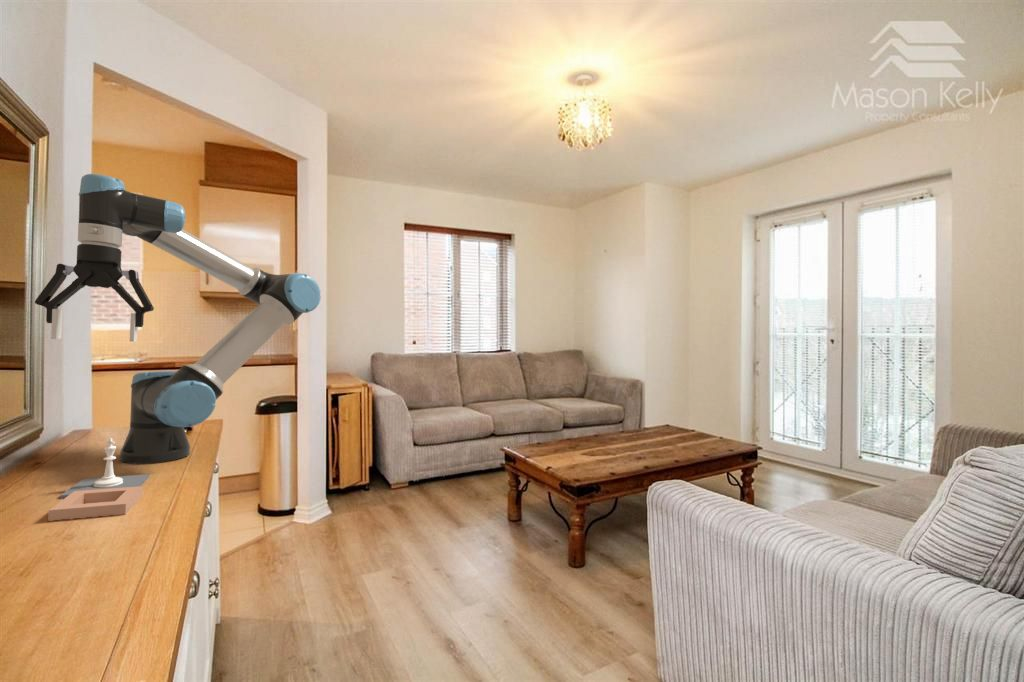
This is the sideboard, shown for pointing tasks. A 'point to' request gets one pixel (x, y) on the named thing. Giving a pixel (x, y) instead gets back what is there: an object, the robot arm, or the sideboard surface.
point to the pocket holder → (96, 503)
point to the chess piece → (109, 468)
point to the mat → (89, 485)
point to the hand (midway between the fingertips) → (95, 340)
